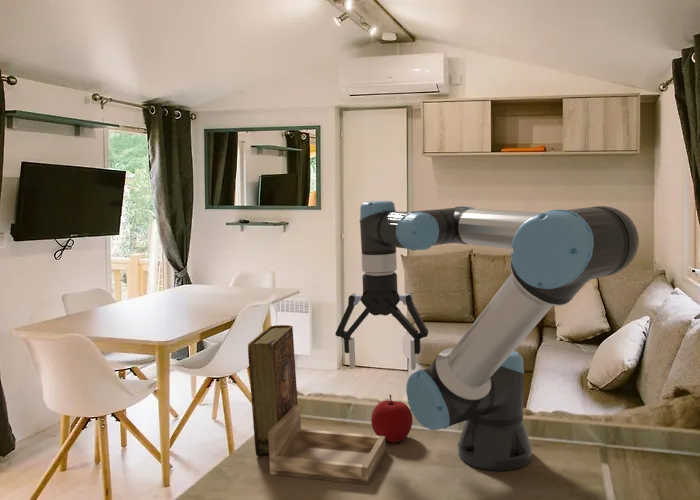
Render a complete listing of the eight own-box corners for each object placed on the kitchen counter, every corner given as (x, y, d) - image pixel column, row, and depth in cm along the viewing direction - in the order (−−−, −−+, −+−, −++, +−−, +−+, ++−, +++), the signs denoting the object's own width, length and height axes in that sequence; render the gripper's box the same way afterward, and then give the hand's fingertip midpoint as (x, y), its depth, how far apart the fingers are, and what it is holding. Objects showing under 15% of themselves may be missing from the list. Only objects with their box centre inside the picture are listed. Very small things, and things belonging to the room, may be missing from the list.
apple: (366, 444, 155) (365, 400, 153) (378, 428, 163) (377, 387, 162) (406, 449, 151) (405, 405, 150) (417, 433, 160) (416, 391, 158)
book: (278, 428, 165) (271, 325, 161) (301, 428, 164) (294, 325, 160) (255, 458, 149) (247, 344, 146) (280, 459, 148) (272, 344, 144)
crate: (385, 451, 150) (384, 411, 149) (367, 484, 136) (366, 440, 134) (296, 443, 156) (295, 404, 155) (270, 474, 141) (268, 431, 140)
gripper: (438, 269, 152) (440, 363, 155) (327, 270, 157) (331, 362, 160) (436, 274, 145) (438, 373, 148) (319, 275, 150) (323, 371, 152)
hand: (382, 367), depth 154 cm, fingers open, 13 cm apart
